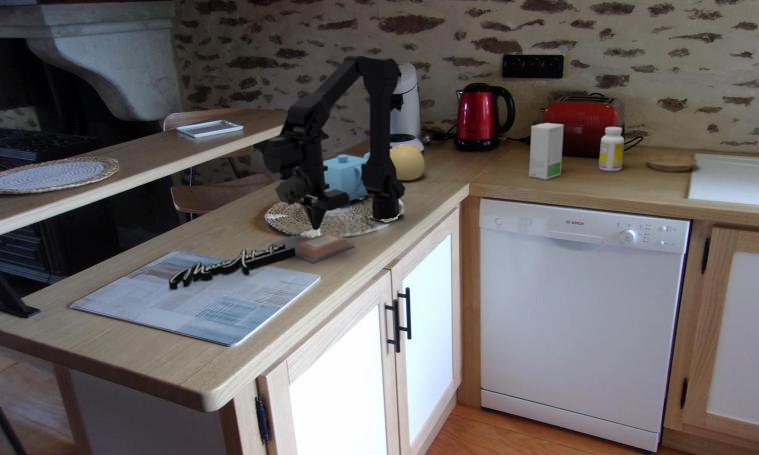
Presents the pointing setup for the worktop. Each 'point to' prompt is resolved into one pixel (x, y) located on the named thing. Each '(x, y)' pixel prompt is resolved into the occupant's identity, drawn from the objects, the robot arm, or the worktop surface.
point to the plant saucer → (670, 162)
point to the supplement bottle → (611, 150)
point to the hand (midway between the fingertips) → (316, 229)
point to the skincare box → (546, 150)
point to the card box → (322, 245)
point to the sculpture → (407, 161)
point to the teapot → (346, 175)
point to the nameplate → (231, 265)
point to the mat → (294, 242)
